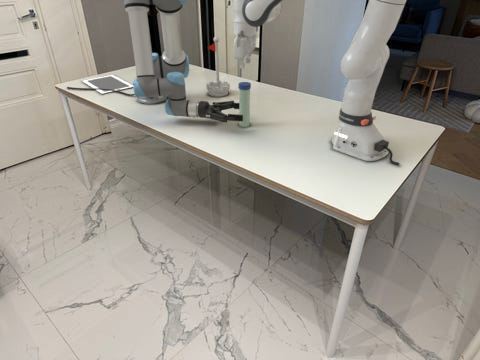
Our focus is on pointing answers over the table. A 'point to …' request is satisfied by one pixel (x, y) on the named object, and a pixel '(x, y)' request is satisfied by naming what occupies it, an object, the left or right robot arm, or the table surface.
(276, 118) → the table surface
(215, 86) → the flag stand
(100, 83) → the tablet
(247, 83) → the lid
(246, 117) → the pale green cylinder
